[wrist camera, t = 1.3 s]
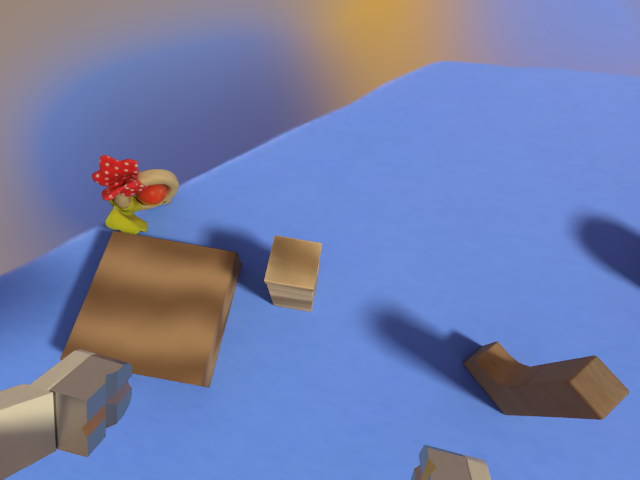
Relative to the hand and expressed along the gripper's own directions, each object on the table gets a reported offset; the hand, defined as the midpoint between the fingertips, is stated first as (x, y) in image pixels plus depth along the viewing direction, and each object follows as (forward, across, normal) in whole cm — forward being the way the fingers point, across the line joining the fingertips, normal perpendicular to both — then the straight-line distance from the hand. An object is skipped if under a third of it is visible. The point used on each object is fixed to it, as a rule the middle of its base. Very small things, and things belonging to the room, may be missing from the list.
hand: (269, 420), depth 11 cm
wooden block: (+30, +19, -17) cm, 40 cm away
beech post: (+33, -4, -13) cm, 36 cm away
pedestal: (+28, -18, -17) cm, 38 cm away
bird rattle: (+36, -25, -9) cm, 45 cm away
